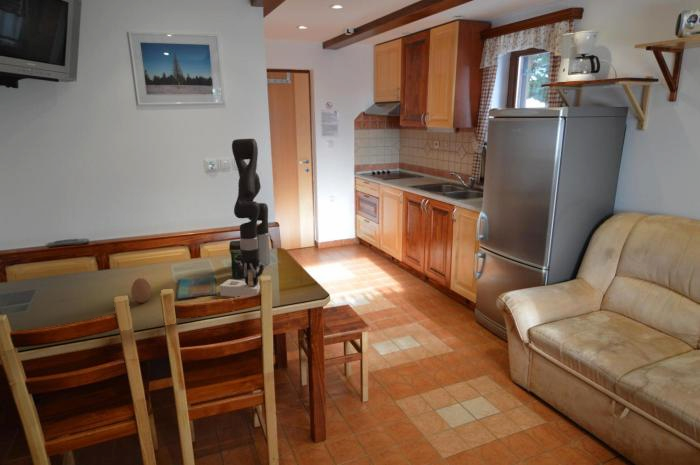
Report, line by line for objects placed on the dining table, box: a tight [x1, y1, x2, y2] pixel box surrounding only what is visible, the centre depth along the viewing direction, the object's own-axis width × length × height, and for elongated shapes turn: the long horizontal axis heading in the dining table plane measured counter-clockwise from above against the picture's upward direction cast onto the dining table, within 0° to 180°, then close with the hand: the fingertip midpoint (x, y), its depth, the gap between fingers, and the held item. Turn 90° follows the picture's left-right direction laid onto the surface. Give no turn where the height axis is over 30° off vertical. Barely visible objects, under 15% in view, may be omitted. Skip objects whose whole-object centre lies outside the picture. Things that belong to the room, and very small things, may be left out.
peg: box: [247, 269, 255, 287], centre depth 191 cm, size 3×3×10 cm
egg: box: [131, 277, 152, 304], centre depth 185 cm, size 8×8×11 cm
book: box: [176, 275, 218, 302], centre depth 201 cm, size 17×23×2 cm
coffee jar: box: [228, 239, 245, 279], centre depth 214 cm, size 10×8×19 cm
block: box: [219, 278, 260, 298], centre depth 193 cm, size 8×18×5 cm, turn 76°
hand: (251, 284), depth 192 cm, fingers closed on peg, 3 cm apart
